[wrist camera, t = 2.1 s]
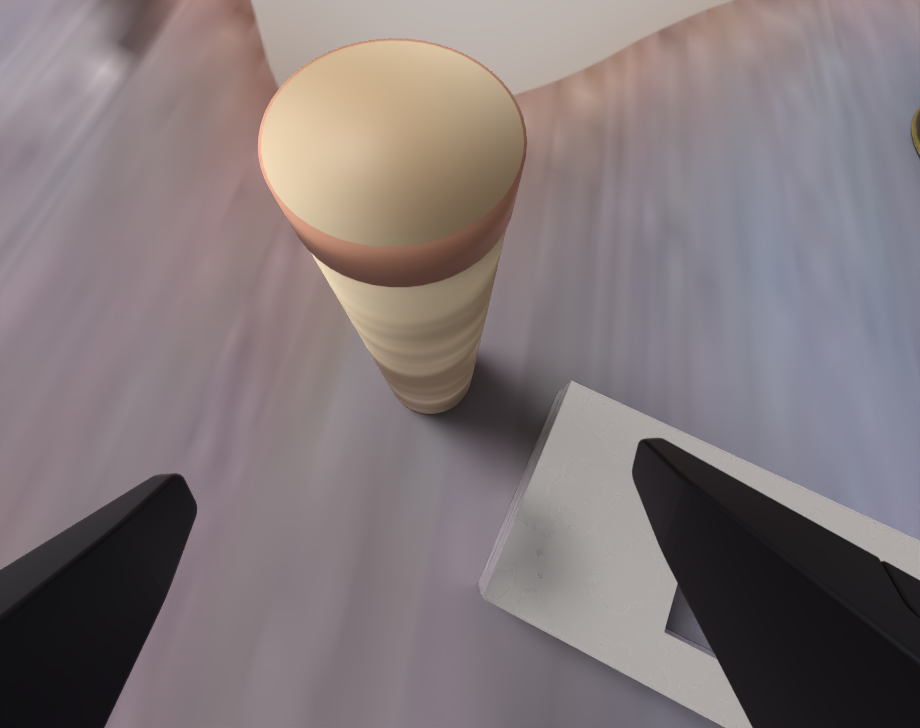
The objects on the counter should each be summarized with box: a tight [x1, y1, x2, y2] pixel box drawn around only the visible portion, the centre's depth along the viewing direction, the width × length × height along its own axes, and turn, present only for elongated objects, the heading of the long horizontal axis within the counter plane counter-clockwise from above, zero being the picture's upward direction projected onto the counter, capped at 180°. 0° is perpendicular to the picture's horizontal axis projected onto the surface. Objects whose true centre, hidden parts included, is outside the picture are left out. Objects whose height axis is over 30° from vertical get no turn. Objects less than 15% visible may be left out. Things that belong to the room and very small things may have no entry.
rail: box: [478, 381, 920, 728], centre depth 17 cm, size 10×20×2 cm, turn 64°
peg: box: [258, 39, 527, 414], centre depth 14 cm, size 4×4×15 cm
